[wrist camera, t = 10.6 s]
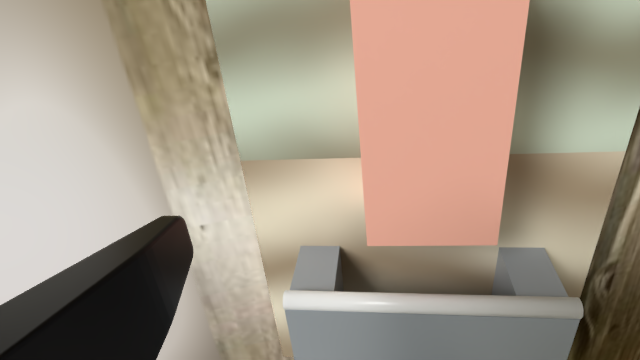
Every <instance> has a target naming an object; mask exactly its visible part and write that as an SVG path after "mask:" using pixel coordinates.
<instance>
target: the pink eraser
mask: <svg viewBox="0 0 640 360" xmlns="http://www.w3.org/2000/svg"><path fill="white" fill-rule="evenodd" d="M529 2H530V0H350V11H351V25H352V39H353V53H354V67H355V81H356V95H357V110H358V124H359V138H360V152H361V166H362V180H363V194H364V208H365V223H366V237H367V246H469V245H497V244H498V236H499V229H500V221H501V214H502V206H503V198H504V191H505V183H506V176H507V168H508V161H509V153H510V146H511V138H512V131H513V123H514V115H515V108H516V100H517V93H518V85H519V78H520V70H521V63H522V55H523V47H524V40H525V32H526V25H527V17H528V10H529Z"/></svg>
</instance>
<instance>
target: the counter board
mask: <svg viewBox="0 0 640 360" xmlns="http://www.w3.org/2000/svg"><path fill="white" fill-rule="evenodd" d="M206 4H207V9H208V13H209V18H210V23H211V27H212V32H213V36H214V41H215V46H216V50H217V55H218V59H219V64H220V69H221V73H222V78H223V82H224V87H225V92H226V96H227V101H228V105H229V110H230V115H231V119H232V124H233V128H234V133H235V138H236V142H237V147H238V151H239V156H240V161H241V165H242V170H243V174H244V179H245V184H246V188H247V193H248V197H249V202H250V207H251V211H252V216H253V220H254V225H255V230H256V234H257V239H258V243H259V248H260V253H261V257H262V262H263V266H264V271H265V276H266V280H267V285H268V289H269V294H270V299H271V303H272V308H273V312H274V317H275V322H276V326H277V331H278V335H279V340H280V345H281V349H282V354H283V357H294V355H293V350H292V345H291V340H290V335H289V330H288V325H287V320H286V315H285V310H284V308H283V294H284V291H285V290H290V286H291V282H292V278H293V274H294V270H295V266H296V262H297V258H298V254H299V250H300V246H340V255H341V266H342V277H343V288H344V292H380V293H420V294H461V295H492V289H493V282H494V276H495V270H496V264H497V257H498V251H499V247H518V248H545V250H546V252H547V254H548V256H549V258H550V260H551V262H552V264H553V266H554V268H555V270H556V272H557V274H558V276H559V278H560V280H561V282H562V284H563V286H564V288H565V290H566V292H567V294H568V297H578V298H579V299H580V296H581V293H582V290H583V287H584V283H585V280H586V277H587V274H588V271H589V267H590V264H591V261H592V258H593V255H594V251H595V248H596V245H597V242H598V239H599V235H600V232H601V229H602V226H603V223H604V219H605V216H606V213H607V210H608V207H609V203H610V200H611V197H612V194H613V191H614V187H615V184H616V181H617V178H618V175H619V171H620V168H621V165H622V162H623V159H624V155H625V152H626V149H627V146H628V143H629V139H630V136H631V133H632V130H633V127H634V123H635V120H636V117H637V114H638V111H639V107H640V0H530V2H529V10H528V17H527V25H526V32H525V40H524V47H523V55H522V63H521V70H520V78H519V85H518V93H517V100H516V108H515V115H514V123H513V131H512V138H511V146H510V153H509V161H508V168H507V176H506V183H505V191H504V198H503V206H502V214H501V221H500V229H499V236H498V244H497V245H469V246H367V237H366V223H365V208H364V194H363V180H362V166H361V152H360V138H359V124H358V110H357V95H356V81H355V67H354V53H353V39H352V25H351V11H350V0H206Z"/></svg>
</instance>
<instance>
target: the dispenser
mask: <svg viewBox="0 0 640 360" xmlns="http://www.w3.org/2000/svg"><path fill="white" fill-rule="evenodd" d="M283 308H284V310H285V315H286V320H287V325H288V330H289V335H290V340H291V345H292V350H293V355H294V360H567V358H568V355H569V352H570V349H571V346H572V343H573V340H574V337H575V334H576V331H577V328H578V324H579V321H580V319H582V317H583V305H582V302H581V300H580V299H579V298H578V297H568V294H567V292H566V290H565V288H564V286H563V284H562V282H561V280H560V278H559V276H558V274H557V272H556V270H555V268H554V266H553V264H552V262H551V260H550V258H549V256H548V254H547V252H546V250H545V248H518V247H499V251H498V257H497V264H496V270H495V276H494V282H493V289H492V295H461V294H420V293H380V292H344V288H343V277H342V266H341V255H340V246H300V250H299V254H298V258H297V262H296V266H295V270H294V274H293V278H292V282H291V286H290V290H285V291H284V294H283Z"/></svg>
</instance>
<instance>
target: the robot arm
mask: <svg viewBox="0 0 640 360" xmlns="http://www.w3.org/2000/svg"><path fill="white" fill-rule="evenodd" d="M192 258H193V246H192V242H191V239H190V236H189V232H188V229H187V226H186V223H185V220H184V219H183V218H182V217H181V216H161V217H159V218H157V219H156V220H154V221H152V222H150V223H148V224H147V225H145V226H143V227H141V228H139V229H138V230H136V231H134V232H132V233H130V234H128V235H127V236H125V237H123V238H121V239H119V240H118V241H116V242H114V243H112V244H110V245H109V246H107V247H105V248H103V249H101V250H100V251H98V252H96V253H94V254H92V255H91V256H89V257H87V258H85V259H83V260H81V261H80V262H78V263H76V264H74V265H73V266H71V267H69V268H67V269H65V270H63V271H62V272H60V273H58V274H56V275H54V276H53V277H51V278H49V279H47V280H45V281H44V282H42V283H40V284H38V285H36V286H35V287H33V288H31V289H29V290H27V291H25V292H24V293H22V294H20V295H18V296H16V297H15V298H13V299H11V300H9V301H7V302H6V303H4V304H2V305H0V360H156V358H157V356H158V354H159V352H160V349H161V347H162V345H163V343H164V340H165V338H166V336H167V334H168V331H169V328H170V326H171V324H172V321H173V318H174V315H175V313H176V309H177V306H178V303H179V300H180V297H181V294H182V290H183V287H184V284H185V281H186V278H187V275H188V271H189V268H190V265H191V262H192Z"/></svg>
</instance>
